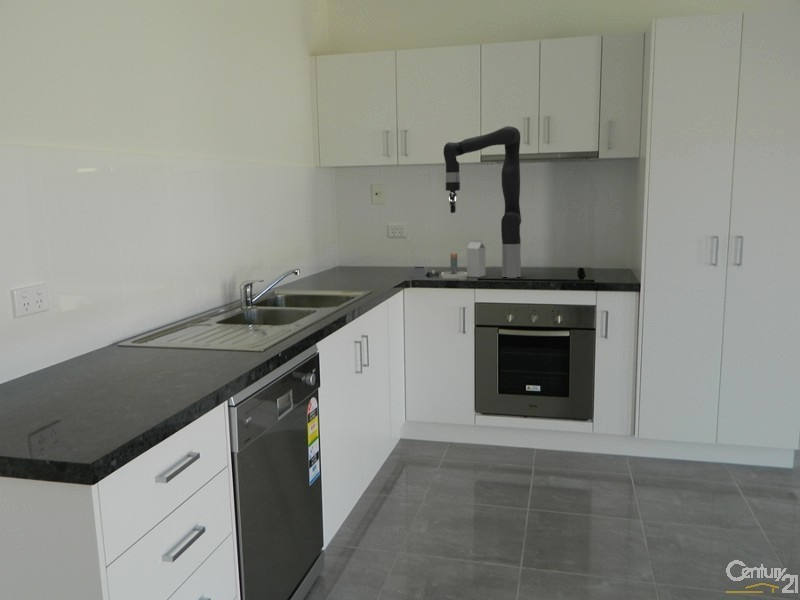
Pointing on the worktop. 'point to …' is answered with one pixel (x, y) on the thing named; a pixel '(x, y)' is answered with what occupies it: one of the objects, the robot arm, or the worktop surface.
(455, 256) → the lock pin
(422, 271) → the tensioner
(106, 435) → the worktop surface
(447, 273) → the tray
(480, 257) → the milk carton
